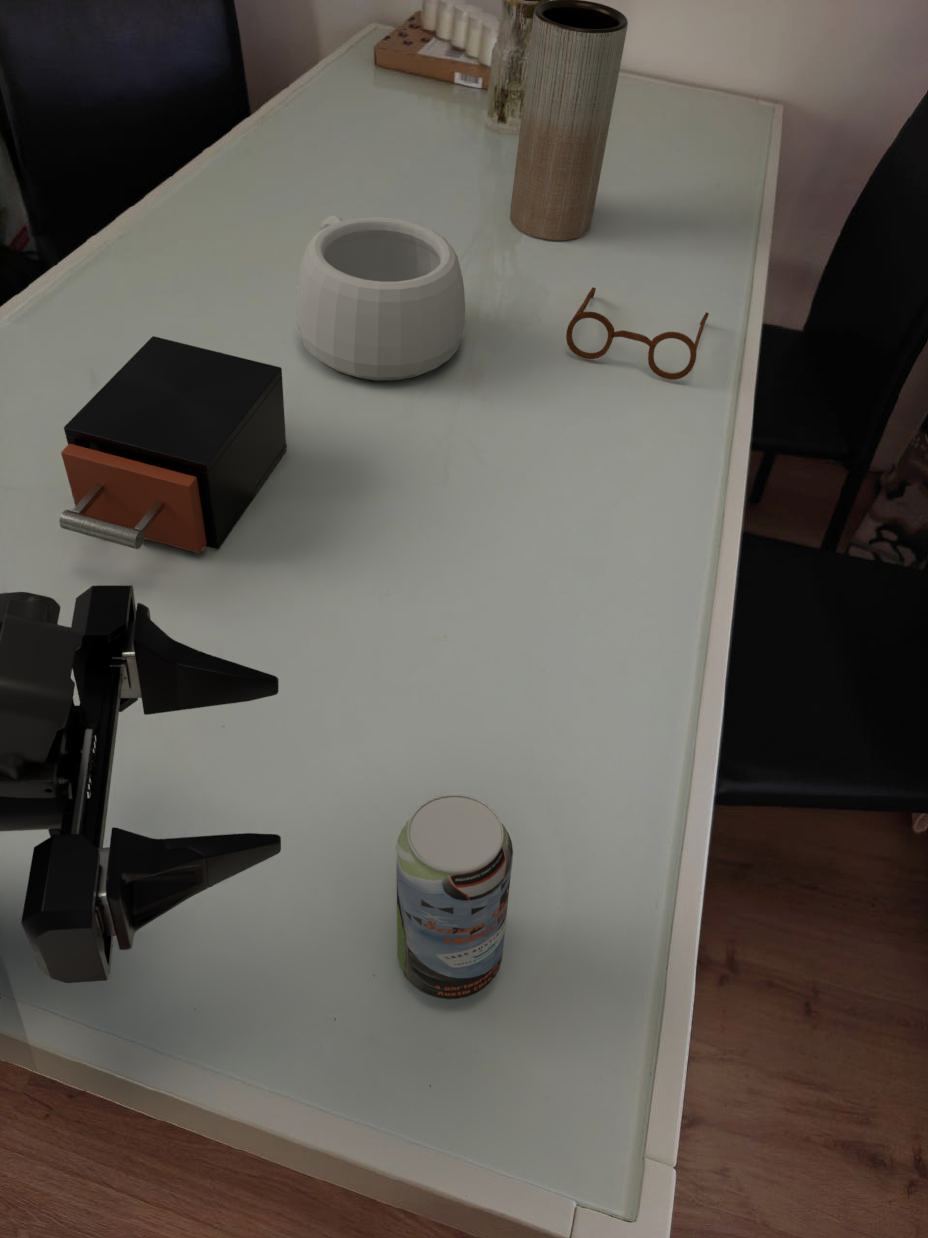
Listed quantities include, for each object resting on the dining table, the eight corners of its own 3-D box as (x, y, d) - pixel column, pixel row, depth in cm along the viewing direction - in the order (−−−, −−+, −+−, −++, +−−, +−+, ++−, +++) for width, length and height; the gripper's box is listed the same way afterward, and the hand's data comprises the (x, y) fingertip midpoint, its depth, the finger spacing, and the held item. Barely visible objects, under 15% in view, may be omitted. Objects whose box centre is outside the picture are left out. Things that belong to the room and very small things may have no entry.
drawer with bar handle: (171, 595, 74) (157, 527, 69) (45, 559, 75) (23, 490, 70) (266, 459, 85) (261, 393, 80) (156, 430, 87) (144, 363, 82)
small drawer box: (218, 550, 79) (206, 464, 72) (85, 513, 80) (63, 427, 74) (287, 450, 88) (281, 367, 81) (166, 419, 89) (152, 335, 83)
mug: (493, 366, 99) (504, 273, 92) (342, 407, 93) (341, 311, 85) (392, 266, 111) (395, 176, 104) (252, 296, 104) (244, 203, 97)
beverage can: (424, 1028, 55) (437, 932, 46) (370, 915, 59) (373, 807, 50) (522, 980, 57) (553, 880, 48) (463, 874, 61) (482, 765, 53)
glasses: (561, 355, 102) (569, 312, 98) (590, 295, 110) (598, 253, 106) (687, 387, 100) (700, 343, 96) (706, 323, 108) (719, 281, 104)
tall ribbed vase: (585, 206, 125) (621, 2, 108) (595, 244, 118) (635, 33, 102) (507, 200, 124) (531, -6, 108) (511, 239, 118) (538, 25, 101)
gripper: (-190, 869, 33) (284, 846, 36) (-68, 500, 45) (278, 506, 49) (-101, 1001, 41) (281, 973, 44) (-18, 657, 54) (277, 654, 57)
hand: (279, 759), depth 48 cm, fingers open, 9 cm apart
